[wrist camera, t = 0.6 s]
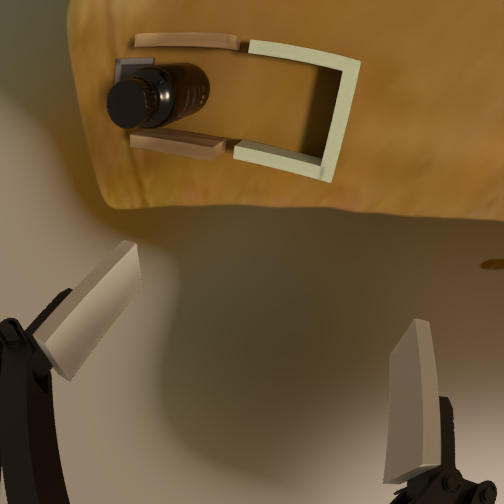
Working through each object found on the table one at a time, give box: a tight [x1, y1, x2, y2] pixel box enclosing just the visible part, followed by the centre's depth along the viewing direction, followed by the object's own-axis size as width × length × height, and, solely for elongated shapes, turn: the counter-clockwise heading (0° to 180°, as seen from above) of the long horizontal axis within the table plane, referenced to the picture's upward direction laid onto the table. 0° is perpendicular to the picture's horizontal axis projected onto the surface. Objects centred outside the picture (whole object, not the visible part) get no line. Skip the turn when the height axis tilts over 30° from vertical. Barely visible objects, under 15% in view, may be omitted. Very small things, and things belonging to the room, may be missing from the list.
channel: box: [130, 32, 241, 161], centre depth 30 cm, size 14×11×4 cm
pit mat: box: [115, 58, 155, 84], centre depth 33 cm, size 8×6×1 cm
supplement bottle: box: [107, 63, 210, 130], centre depth 27 cm, size 7×7×12 cm
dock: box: [233, 40, 361, 183], centre depth 29 cm, size 14×11×3 cm
